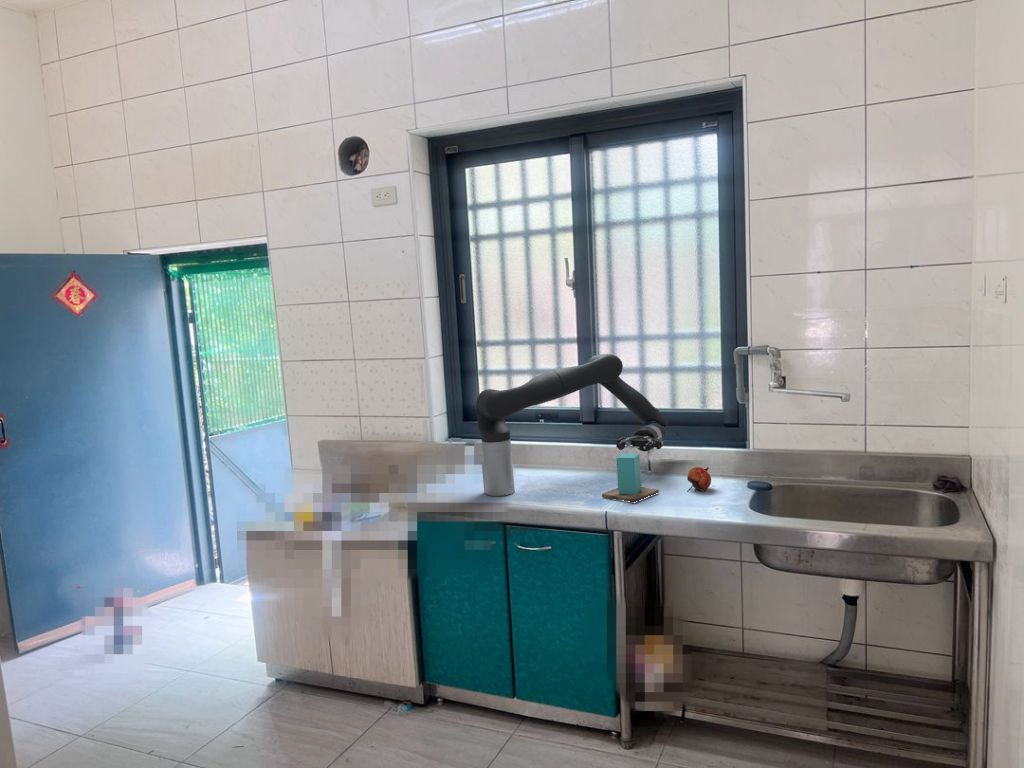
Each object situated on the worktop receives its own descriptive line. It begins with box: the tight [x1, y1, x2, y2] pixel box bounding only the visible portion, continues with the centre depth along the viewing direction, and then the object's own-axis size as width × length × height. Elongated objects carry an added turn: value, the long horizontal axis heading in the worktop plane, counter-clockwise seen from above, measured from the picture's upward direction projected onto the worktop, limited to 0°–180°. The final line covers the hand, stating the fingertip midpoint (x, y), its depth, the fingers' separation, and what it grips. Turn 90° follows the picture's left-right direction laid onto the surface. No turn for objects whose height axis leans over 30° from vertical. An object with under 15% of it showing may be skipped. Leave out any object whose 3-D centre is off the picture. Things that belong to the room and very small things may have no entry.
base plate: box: [601, 486, 660, 502], centre depth 218 cm, size 12×12×1 cm
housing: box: [615, 453, 642, 495], centre depth 217 cm, size 5×5×11 cm
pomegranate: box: [686, 466, 712, 493], centre depth 217 cm, size 7×7×10 cm
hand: (633, 447), depth 226 cm, fingers open, 8 cm apart
